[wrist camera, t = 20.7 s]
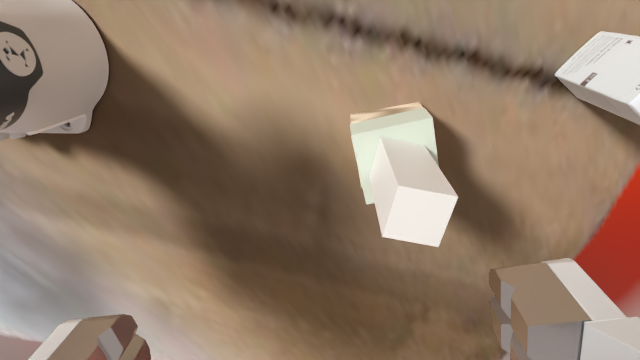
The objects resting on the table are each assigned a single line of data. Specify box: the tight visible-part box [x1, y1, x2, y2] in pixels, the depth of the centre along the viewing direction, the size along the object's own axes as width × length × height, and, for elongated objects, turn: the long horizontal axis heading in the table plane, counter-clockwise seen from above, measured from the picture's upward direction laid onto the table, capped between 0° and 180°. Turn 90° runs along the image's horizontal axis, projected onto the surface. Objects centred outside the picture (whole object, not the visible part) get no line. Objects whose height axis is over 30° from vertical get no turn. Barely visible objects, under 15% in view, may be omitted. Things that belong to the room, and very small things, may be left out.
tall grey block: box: [369, 137, 458, 247], centre depth 33 cm, size 4×4×11 cm
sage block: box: [350, 108, 439, 205], centre depth 40 cm, size 8×8×4 cm
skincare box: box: [555, 31, 640, 125], centre depth 35 cm, size 6×4×12 cm
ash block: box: [350, 102, 423, 188], centre depth 44 cm, size 8×8×4 cm
